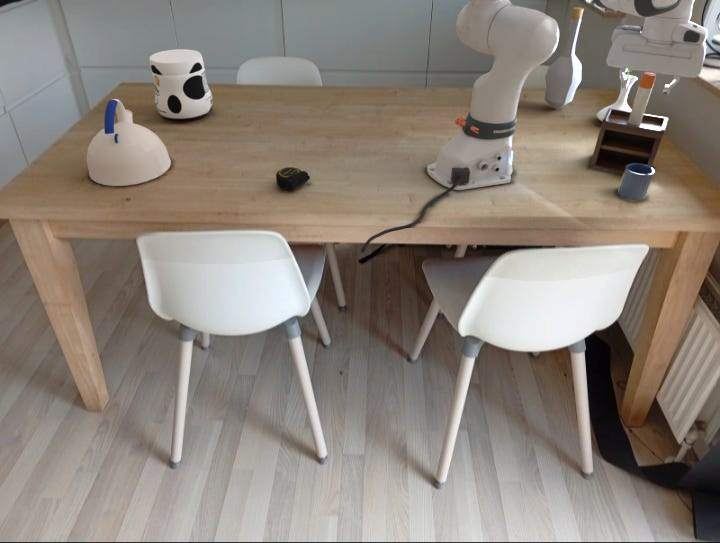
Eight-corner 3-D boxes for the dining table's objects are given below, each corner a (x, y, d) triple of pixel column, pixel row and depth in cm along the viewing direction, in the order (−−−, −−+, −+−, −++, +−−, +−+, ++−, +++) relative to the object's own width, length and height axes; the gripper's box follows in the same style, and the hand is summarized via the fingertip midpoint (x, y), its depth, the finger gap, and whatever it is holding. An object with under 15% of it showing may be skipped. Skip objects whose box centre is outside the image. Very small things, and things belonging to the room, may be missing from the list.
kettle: (175, 149, 150) (160, 84, 139) (166, 183, 134) (149, 112, 123) (99, 154, 148) (78, 88, 137) (81, 190, 131) (55, 118, 120)
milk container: (149, 113, 172) (135, 55, 161) (198, 101, 181) (187, 45, 171) (174, 129, 162) (161, 68, 151) (225, 115, 171) (215, 56, 160)
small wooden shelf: (647, 180, 135) (664, 130, 127) (589, 168, 141) (602, 119, 133) (651, 166, 141) (668, 117, 133) (595, 155, 147) (609, 107, 139)
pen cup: (632, 204, 125) (642, 177, 121) (611, 193, 130) (619, 166, 126) (650, 198, 128) (660, 171, 124) (629, 187, 132) (638, 161, 128)
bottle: (576, 116, 170) (602, 13, 152) (540, 113, 172) (561, 11, 154) (571, 103, 179) (595, 5, 161) (537, 101, 180) (556, 3, 162)
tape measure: (291, 195, 129) (290, 181, 127) (271, 187, 132) (269, 173, 130) (310, 184, 134) (309, 171, 131) (290, 177, 137) (289, 163, 135)
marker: (635, 126, 132) (650, 76, 125) (625, 121, 134) (640, 73, 127) (643, 123, 133) (659, 74, 126) (633, 119, 136) (648, 71, 128)
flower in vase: (636, 132, 160) (665, 43, 145) (596, 127, 163) (619, 39, 148) (633, 116, 170) (660, 32, 155) (595, 112, 173) (617, 29, 158)
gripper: (612, 26, 122) (596, 87, 131) (714, 37, 114) (690, 101, 123) (617, 20, 127) (601, 79, 135) (715, 30, 119) (692, 93, 127)
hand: (644, 90), depth 129 cm, fingers open, 8 cm apart
